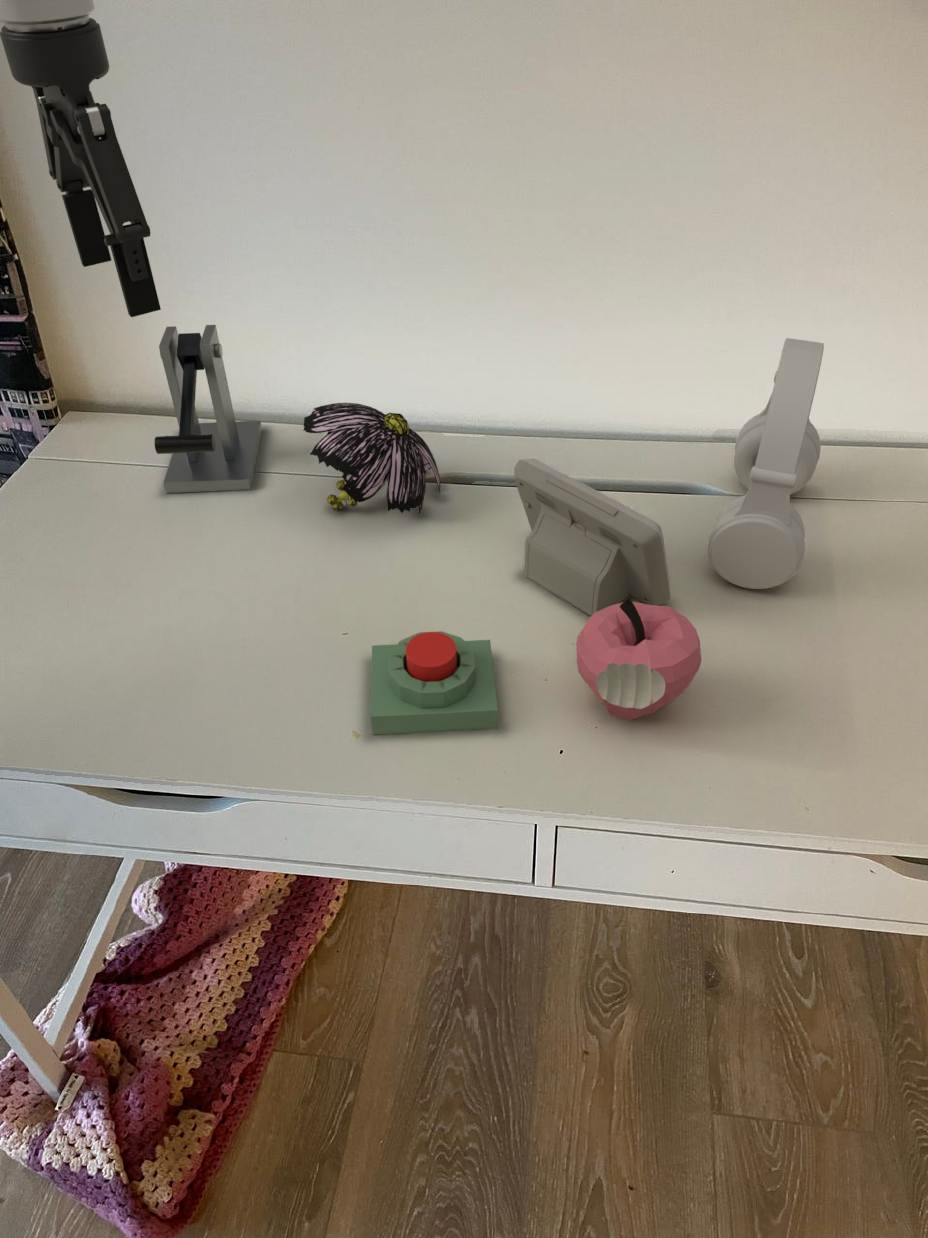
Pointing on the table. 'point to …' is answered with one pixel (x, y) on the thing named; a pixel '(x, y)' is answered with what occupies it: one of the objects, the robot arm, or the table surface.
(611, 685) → the apple
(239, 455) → the bracket
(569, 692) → the table surface
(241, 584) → the table surface
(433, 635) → the button
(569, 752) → the table surface
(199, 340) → the lever
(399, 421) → the decorative flower
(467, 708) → the button box
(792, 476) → the headphones
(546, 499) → the digital clock
